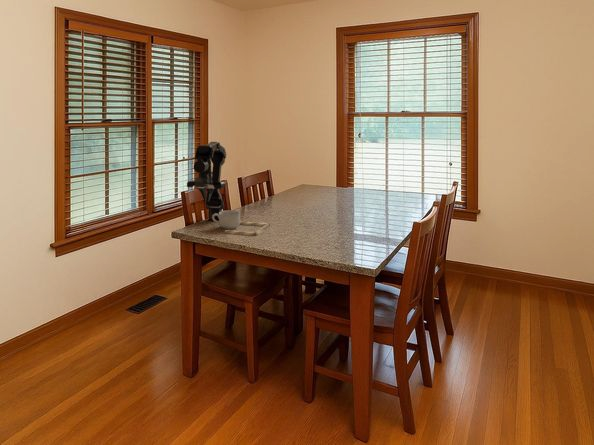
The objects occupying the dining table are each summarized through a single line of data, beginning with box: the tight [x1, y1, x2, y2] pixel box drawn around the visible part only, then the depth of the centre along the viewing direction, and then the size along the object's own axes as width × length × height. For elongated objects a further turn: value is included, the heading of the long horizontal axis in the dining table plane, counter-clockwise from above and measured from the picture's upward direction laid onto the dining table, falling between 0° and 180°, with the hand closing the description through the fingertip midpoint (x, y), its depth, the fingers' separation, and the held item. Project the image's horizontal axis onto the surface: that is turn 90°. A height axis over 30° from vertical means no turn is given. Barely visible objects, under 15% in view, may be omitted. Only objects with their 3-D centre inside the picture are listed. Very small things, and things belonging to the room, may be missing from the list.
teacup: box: [212, 210, 241, 230], centre depth 230 cm, size 14×11×8 cm
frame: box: [224, 221, 271, 236], centre depth 228 cm, size 16×20×1 cm
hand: (206, 201), depth 231 cm, fingers closed
